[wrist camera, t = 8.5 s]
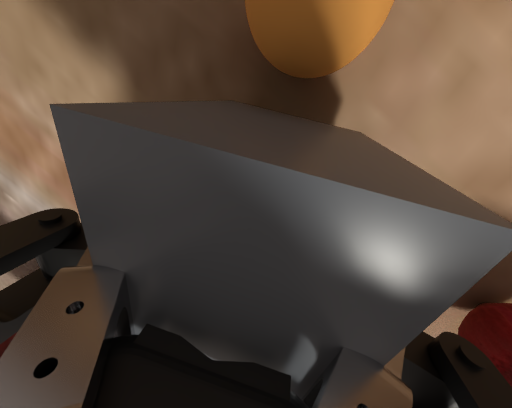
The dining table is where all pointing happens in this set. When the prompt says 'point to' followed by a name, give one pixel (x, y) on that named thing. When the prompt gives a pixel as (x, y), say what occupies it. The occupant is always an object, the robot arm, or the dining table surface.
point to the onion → (491, 334)
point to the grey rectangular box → (270, 230)
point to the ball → (314, 32)
